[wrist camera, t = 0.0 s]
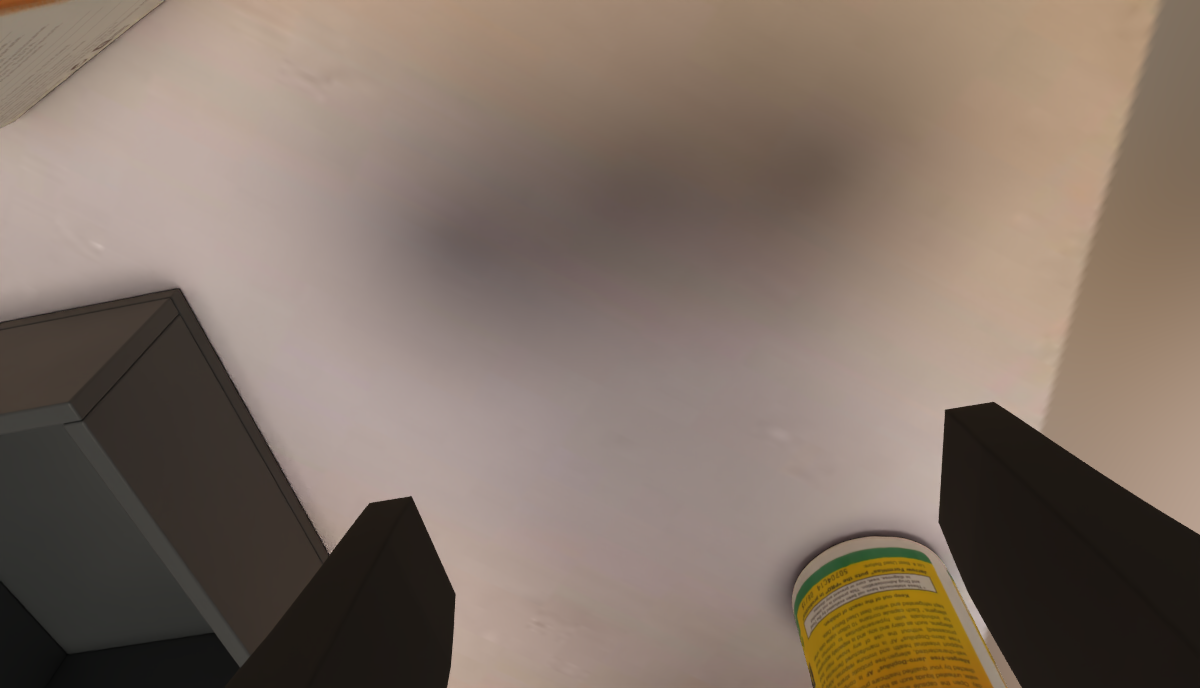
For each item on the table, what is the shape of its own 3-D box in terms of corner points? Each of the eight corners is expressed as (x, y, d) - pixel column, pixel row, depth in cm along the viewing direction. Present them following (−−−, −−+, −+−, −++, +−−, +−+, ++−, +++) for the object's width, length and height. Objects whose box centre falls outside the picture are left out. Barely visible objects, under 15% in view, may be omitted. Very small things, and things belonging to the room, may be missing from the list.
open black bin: (359, 609, 27) (317, 749, 22) (71, 652, 27) (-23, 794, 23) (179, 287, 20) (68, 402, 15) (-196, 360, 21) (-397, 486, 16)
